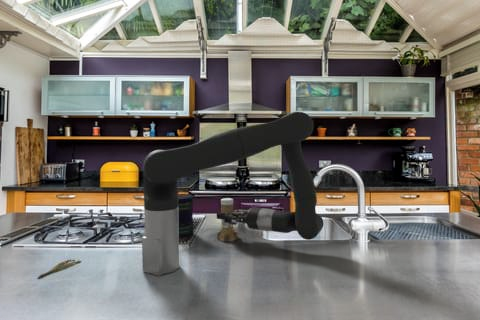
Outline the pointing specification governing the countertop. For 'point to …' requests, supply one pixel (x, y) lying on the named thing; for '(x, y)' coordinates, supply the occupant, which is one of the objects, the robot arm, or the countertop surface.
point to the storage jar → (185, 215)
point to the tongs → (60, 267)
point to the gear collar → (226, 238)
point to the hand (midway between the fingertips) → (220, 214)
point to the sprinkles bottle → (226, 208)
